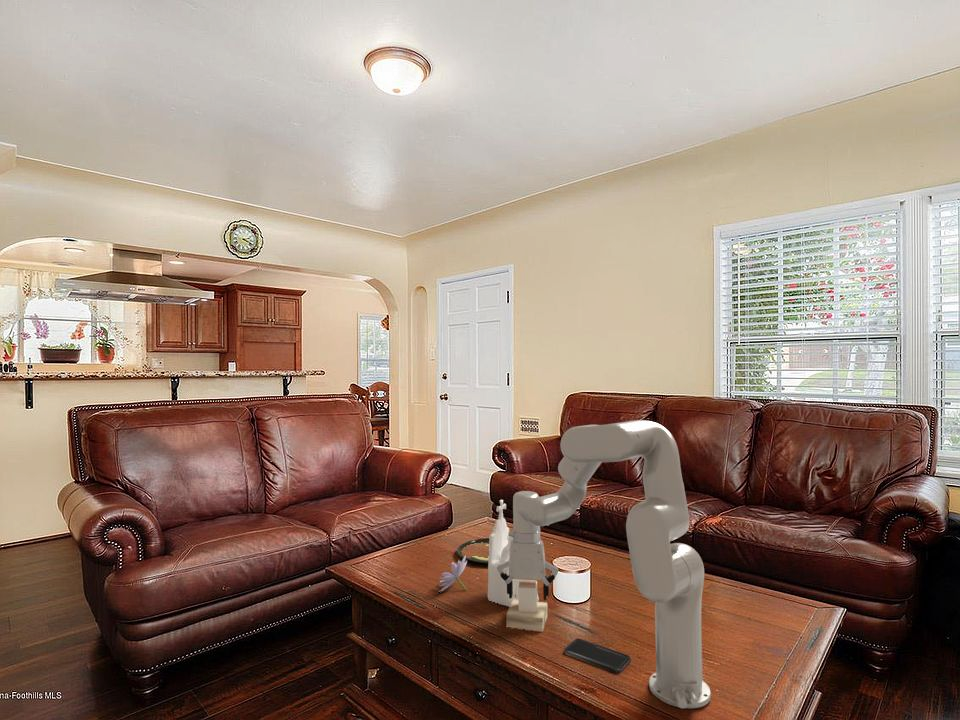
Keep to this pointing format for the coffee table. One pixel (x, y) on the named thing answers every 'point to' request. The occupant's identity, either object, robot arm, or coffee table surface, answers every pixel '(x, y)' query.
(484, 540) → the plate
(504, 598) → the religious statue
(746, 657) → the coffee table surface
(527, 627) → the block
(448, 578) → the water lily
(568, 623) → the coffee table surface
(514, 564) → the robot arm
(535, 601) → the peach rectangular block
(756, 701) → the coffee table surface
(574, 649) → the phone
